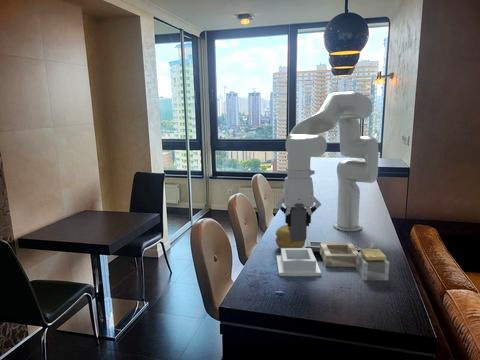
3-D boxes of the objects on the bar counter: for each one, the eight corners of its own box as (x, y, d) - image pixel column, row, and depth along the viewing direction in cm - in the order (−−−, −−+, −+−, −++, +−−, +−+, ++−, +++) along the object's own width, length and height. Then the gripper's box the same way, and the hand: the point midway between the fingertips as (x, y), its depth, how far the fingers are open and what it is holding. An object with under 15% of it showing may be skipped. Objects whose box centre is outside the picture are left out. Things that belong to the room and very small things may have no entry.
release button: (359, 265, 121) (360, 249, 120) (378, 265, 120) (379, 248, 119) (365, 274, 114) (366, 256, 113) (385, 274, 114) (386, 256, 113)
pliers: (372, 240, 144) (377, 255, 130) (372, 243, 145) (376, 259, 130) (347, 238, 147) (349, 252, 132) (347, 242, 147) (349, 256, 133)
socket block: (319, 252, 136) (320, 238, 135) (366, 252, 135) (367, 237, 134) (332, 280, 115) (332, 263, 113) (388, 280, 114) (389, 263, 113)
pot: (297, 257, 133) (298, 232, 130) (270, 251, 139) (270, 227, 137) (309, 246, 142) (310, 223, 140) (283, 241, 148) (283, 218, 146)
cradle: (276, 258, 132) (276, 246, 131) (314, 258, 131) (314, 246, 130) (279, 276, 118) (279, 263, 117) (321, 276, 118) (321, 262, 117)
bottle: (305, 235, 125) (305, 194, 122) (307, 241, 119) (308, 199, 116) (288, 235, 125) (288, 194, 122) (290, 241, 120) (290, 199, 117)
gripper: (322, 171, 121) (321, 221, 125) (272, 172, 122) (272, 221, 126) (326, 175, 114) (325, 228, 117) (273, 176, 115) (273, 229, 118)
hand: (297, 224), depth 122 cm, fingers closed on bottle, 5 cm apart
